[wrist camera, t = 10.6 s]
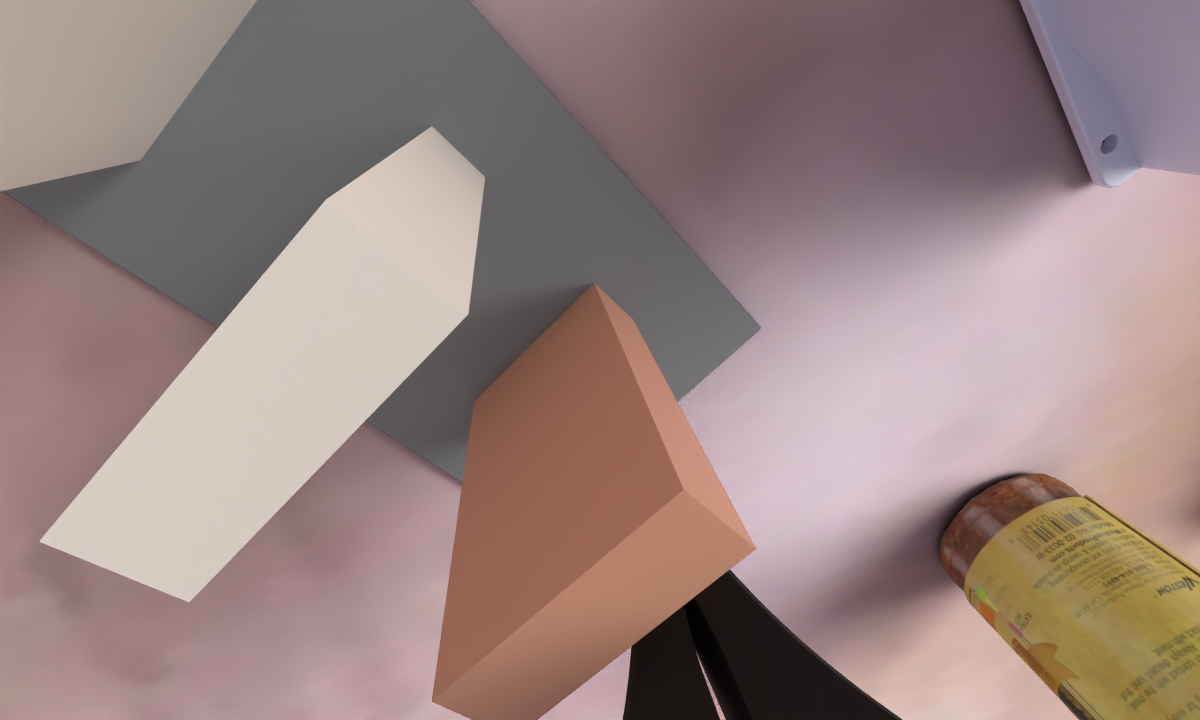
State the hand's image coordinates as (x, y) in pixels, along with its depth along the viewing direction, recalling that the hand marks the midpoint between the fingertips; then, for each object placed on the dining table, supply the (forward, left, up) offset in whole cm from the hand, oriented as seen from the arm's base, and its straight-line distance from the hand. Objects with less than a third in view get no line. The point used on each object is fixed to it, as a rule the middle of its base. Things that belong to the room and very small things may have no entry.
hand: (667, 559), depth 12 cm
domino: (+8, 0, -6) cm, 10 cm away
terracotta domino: (+3, 0, -6) cm, 7 cm away
